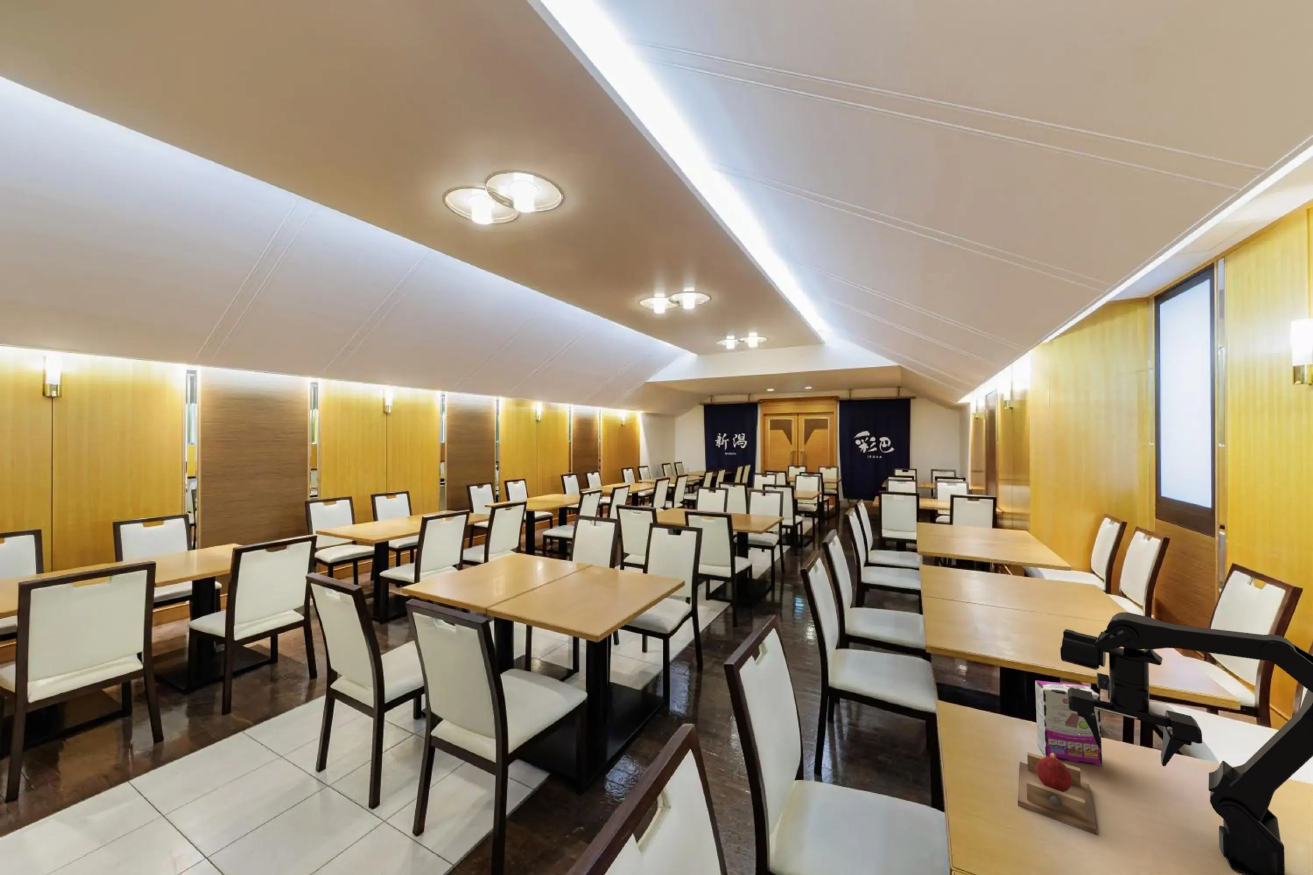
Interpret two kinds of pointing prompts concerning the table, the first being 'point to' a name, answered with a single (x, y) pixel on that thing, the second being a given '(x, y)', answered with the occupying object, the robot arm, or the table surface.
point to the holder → (1056, 796)
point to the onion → (1053, 773)
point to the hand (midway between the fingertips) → (1130, 755)
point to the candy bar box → (1065, 725)
